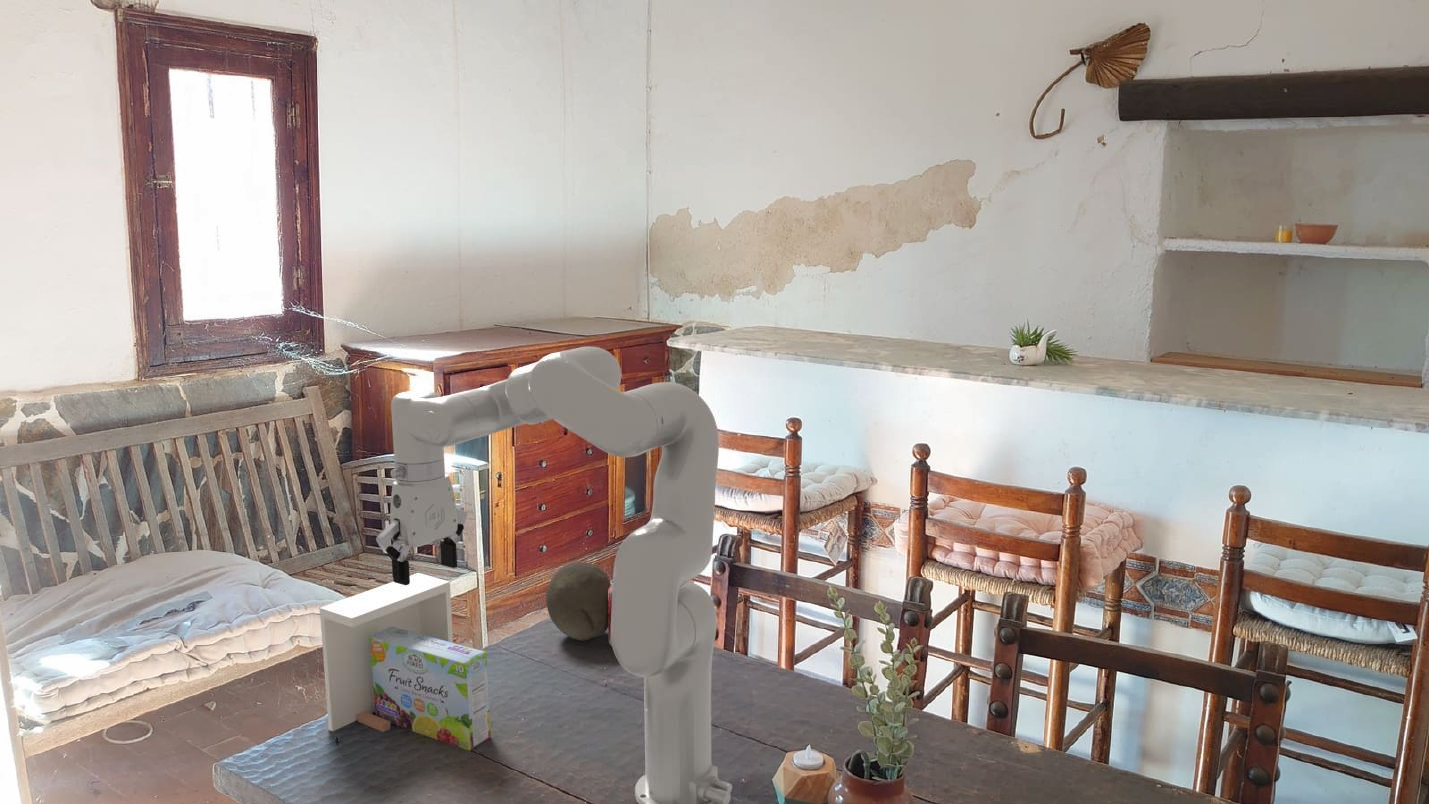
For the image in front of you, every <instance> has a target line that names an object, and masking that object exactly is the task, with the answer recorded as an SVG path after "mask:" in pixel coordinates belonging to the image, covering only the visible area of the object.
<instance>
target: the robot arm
mask: <svg viewBox="0 0 1429 804" xmlns="http://www.w3.org/2000/svg"><path fill="white" fill-rule="evenodd" d="M621 382H622V370H621V366H620V364H619V362H618V360H617V358H616V357H615V356H614V355H613V354H612V353H610V351H608V350H606V349H604V348H601V347H598V346H590V345H589V346H581V347H577V348H572V349H568V350H562V351H558V352H557V351H556V352H553V353H550V354H548V355H545V356H543V357H542V358H541V359H539V360H538V361H536V362H533V363H531V364H528V365H524V366H522V367H521V366H520V367H518V368H516V369H514V370H512V371H511V372H510V374H509V376H508V377H507V379H504V380H502V381H497V382H495V383H492V384H489V385H486V386H485V385H484V386H482V387H479V388H474V389H469V390H464V391H461V392H456V393H451V394H449V395H444V396H439V395H438V393H436V392H434V391H430V390H409V391H403V392H399V393H397V394H395V395H394V396H393V398H392V399H391V402H390V404H391V405H390V407H391V411H390V412H391V424H392V427H391V428H392V441H393V456H394V458H393V459H394V468H393V469H391V470H390V476H391V478H393V479H395V481H393V482H392V486H391V487H392V488H391V496H390V507H389V508H390V510H389V511H390V513H389V514H390V515H389V517H390V519H389V520H390V523H389V525H388V526H386V527H385V528H384V529H383V530H382V531H380V533H379V534H378V535H377V536H376V538H375V540H376V542H377V544H378V546H379V548H380V549H381V552H382V553H383V554H384V555H385V556H386V557H387V558H388V559H390V560H391V570H392V571H391V573H392V579H393V581H392V582H395V583H398V584H402V585H405V586H406V585H409V583H410V576H411V575H410V561H409V560H408V559H406V558H407V556H408V554H409V552H410V550H411V548H418V547H422V546H425V545H429V544H432V543H436V542H438V541H440V543H439V549H440V552H439V553H440V564H441V566H443V567H447V568H451V569H455V568H458V555H457V554H458V549H457V544H458V543H459V542H460V541H461V539H460V536H461V534H462V533H463V532H464V528H465V525H464V524H465V521H466V519H467V516H468V513H467V511H464V510H461V509H459V508H457V506H456V497H455V492H454V488H453V484H452V481H451V478H450V475H449V474H448V473H446V469H445V468H446V467H445V448H447V447H452V446H456V445H458V444H462V443H467V442H468V441H471V440H472V441H473V440H474V439H475V440H476V439H479V438H483V437H486V436H490V435H493V434H497V433H499V432H502V431H505V430H509V429H512V428H515V427H519V426H522V425H526V424H527V425H530V426H531V425H537V424H540V423H544V422H547V421H550V420H554V422H556V423H557V424H559V425H561V426H562V427H564V428H565V429H567V430H568V431H570V432H572V433H574V434H575V435H576V436H578V437H580V438H582V439H584V440H585V441H586V442H588V443H590V444H591V445H593V446H594V447H596V448H598V449H599V450H601V451H603V452H605V453H607V454H609V455H611V456H615V457H619V458H632V457H633V458H634V457H638V456H640V455H642V454H644V453H647V452H650V451H652V450H654V449H657V448H659V447H661V457H660V460H659V463H658V466H657V468H656V469H657V470H656V472H655V476H654V481H653V496H652V497H653V500H652V510H651V513H650V514H651V515H650V519H649V521H648V522H647V524H645V525H642V526H640V527H639V528H637V529H636V530H633V531H632V532H631V533H630V534H629V535H628V536H626V538H625V539H624V540H623V541H622V542H621V544H620V546H619V548H618V550H617V552H616V555H615V559H614V563H613V575H612V580H613V590H612V612H611V640H612V646H613V647H612V646H611V647H612V650H613V653H614V655H615V657H616V659H617V661H618V663H619V664H620V666H621V667H622V668H623V669H624V670H625V671H626V672H628V673H629V674H632V675H634V676H636V677H639V678H643V679H644V680H643V683H644V684H643V685H644V686H643V691H644V694H643V702H644V703H643V708H644V709H643V710H644V711H643V713H644V718H643V719H644V768H645V770H644V771H645V772H644V774H643V775H642V776H640V778H638V780H637V782H636V784H635V786H634V796H635V800H636V802H637V803H638V804H730V802H731V797H732V796H731V792H732V790H733V784H732V783H730V782H727V781H723V780H720V779H719V776H718V775H719V771H718V768H719V767H718V766H716V765H714V764H712V665H713V654H714V648H715V647H714V646H715V639H716V635H717V634H716V633H717V612H716V605H715V604H714V601H713V599H712V597H711V596H710V594H709V593H708V592H707V590H706V589H704V588H703V587H702V586H701V585H699V584H697V583H695V582H691V581H692V580H693V579H695V578H696V577H697V576H699V575H701V574H702V573H703V571H705V570H706V568H707V567H708V565H709V564H710V561H711V558H712V554H713V541H714V540H713V538H714V526H715V525H714V524H715V522H714V521H715V508H716V486H717V485H716V483H717V475H718V463H719V450H720V449H719V447H720V442H719V441H720V439H719V438H720V437H719V432H718V431H719V430H718V426H717V422H716V419H715V416H714V414H713V412H712V411H711V409H710V407H709V405H708V404H707V403H706V401H705V400H704V399H703V398H702V397H701V396H700V395H699V394H698V393H697V392H695V391H694V390H693V389H692V388H690V387H688V386H685V385H684V384H681V383H678V382H671V381H670V382H669V381H663V382H656V383H655V382H654V383H652V384H651V383H650V384H647V385H644V386H643V385H642V386H639V387H637V388H634V389H630V390H627V391H624V392H622V391H620V390H619V387H620V385H621ZM444 447H445V448H444ZM391 540H392V542H393V543H391Z"/></svg>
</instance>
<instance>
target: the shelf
mask: <svg viewBox="0 0 1429 804" xmlns="http://www.w3.org/2000/svg"><path fill="white" fill-rule="evenodd" d="M451 594H452V593H451V582H450V580H446V579H442V578H438V577H435V576H431V575H428V574H424V573H421V572H416V573H414V574H412V575H410V583H409V585H406V586H405V585H402V584H398V583H395V582H394V581H392V582H388V583H386V584H383V585H380V586H378V587H375V588H372V589H369V590H366V591H363V592H361V593H358V594H355V595H353V596H349V597H347V598H344V599H341V600H337V601H335V602H332V603H331V604H330V603H329V604H326V605H325V606H321V607H319V618H320V630H321V642H322V653H323V654H322V658H323V670H324V683H325V697H326V698H325V699H326V710H327V727H328V731H330V732H335V731H337V730H339V729H341V728H344V727H345V726H348V725H349V724H352V723H355V721H357V722H358V723H360V724H363V725H365V726H367V727H370V728H372V729H374V730H377V731H380V732H383V733H385V732H386V731H389V730H390V729H391V727H392V726H391V725H392V724H390V721H388V720H385V719H383V718H380V717H378V716H376V714H374V713H376V710H375V698H374V686H373V674H372V662H371V650H370V638H369V637H370V636H372V635H374V634H376V633H379V632H381V631H383V630H385V629H387V628H389V627H396V628H399V629H403V630H407V631H411V632H414V633H418V634H421V635H425V636H429V637H433V638H436V639H440V640H444V641H448V642H451V643H454V637H453V636H454V635H453V634H454V633H453V620H452V618H453V617H452V598H451Z"/></svg>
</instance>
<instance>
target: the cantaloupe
mask: <svg viewBox="0 0 1429 804" xmlns="http://www.w3.org/2000/svg"><path fill="white" fill-rule="evenodd" d="M610 582H611V580H610V577H609V576H608V575H607V573H606V572H605V571H604V570H603V569H602V568H601V567H600V566H597V564H594V563H591V562H571V563H568V564H565V565H564V566H562V567H561V568H558V570H557V571H556V572H554V574H553V576H552V577H551V578H550V580H549V583H548V585H547V588H546V591H545V603H546V609H547V612H548V615H549V617H550V619H551V622H552V623H553V624H554V625H555V627H556V628H557V629H558V630H559V631H560V632H561V633H562V634H564V635H565V636H567V637H569V638H571V639H574V640H576V641H582V642H583V641H591V640H593V639H596V638H598V637H600V636H602V635H604V634H605V633H606V632H607V631H608V589H609V587H610V585H611V584H610Z"/></svg>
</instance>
